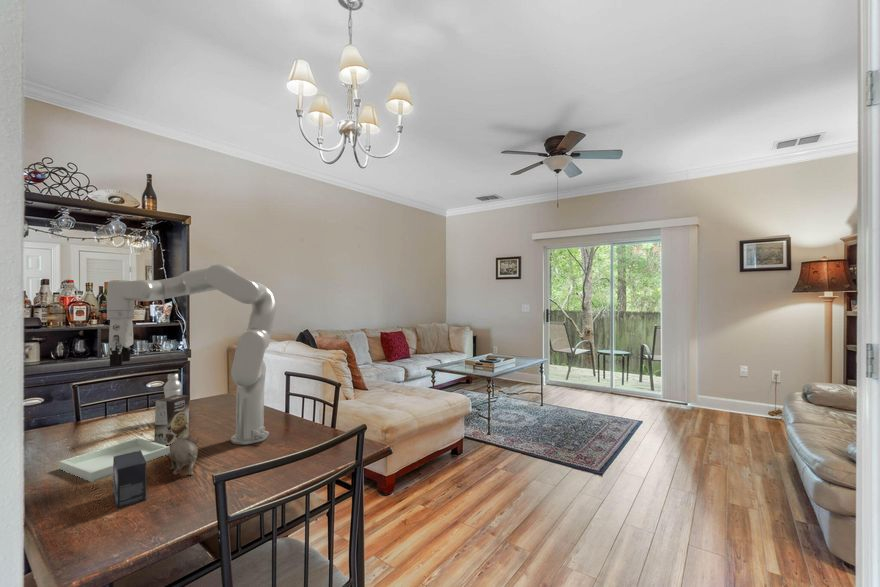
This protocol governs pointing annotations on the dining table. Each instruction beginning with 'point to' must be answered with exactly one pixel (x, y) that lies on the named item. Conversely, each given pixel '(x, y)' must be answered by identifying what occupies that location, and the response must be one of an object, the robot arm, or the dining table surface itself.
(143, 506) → the dining table surface
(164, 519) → the dining table surface
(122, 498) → the small box
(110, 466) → the tray
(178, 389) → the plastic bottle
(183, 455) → the rhinoceros figurine
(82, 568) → the dining table surface
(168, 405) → the coffee box
